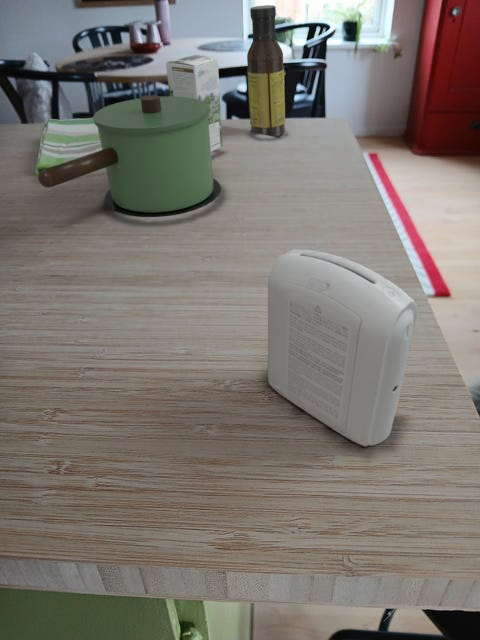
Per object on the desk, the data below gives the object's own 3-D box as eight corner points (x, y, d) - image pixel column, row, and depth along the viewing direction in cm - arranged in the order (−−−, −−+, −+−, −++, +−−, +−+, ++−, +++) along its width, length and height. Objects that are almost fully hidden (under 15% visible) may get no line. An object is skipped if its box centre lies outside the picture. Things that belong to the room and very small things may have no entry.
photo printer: (404, 423, 37) (436, 278, 30) (371, 459, 35) (396, 310, 27) (294, 360, 43) (298, 226, 36) (259, 387, 41) (256, 249, 33)
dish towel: (137, 128, 99) (134, 109, 97) (147, 168, 81) (143, 146, 79) (46, 138, 97) (41, 119, 95) (34, 182, 79) (28, 159, 76)
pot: (167, 164, 79) (156, 79, 72) (237, 186, 71) (232, 92, 64) (24, 220, 65) (-8, 121, 58) (91, 255, 57) (64, 145, 50)
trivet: (81, 209, 70) (79, 202, 69) (156, 170, 81) (155, 164, 80) (174, 234, 63) (173, 226, 62) (242, 187, 73) (242, 181, 73)
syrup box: (196, 146, 89) (188, 53, 80) (224, 152, 86) (218, 56, 77) (175, 156, 85) (163, 60, 77) (202, 162, 82) (194, 63, 74)
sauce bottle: (282, 128, 95) (283, 2, 83) (287, 138, 90) (288, 6, 78) (248, 130, 95) (243, 5, 83) (250, 141, 90) (246, 9, 78)
